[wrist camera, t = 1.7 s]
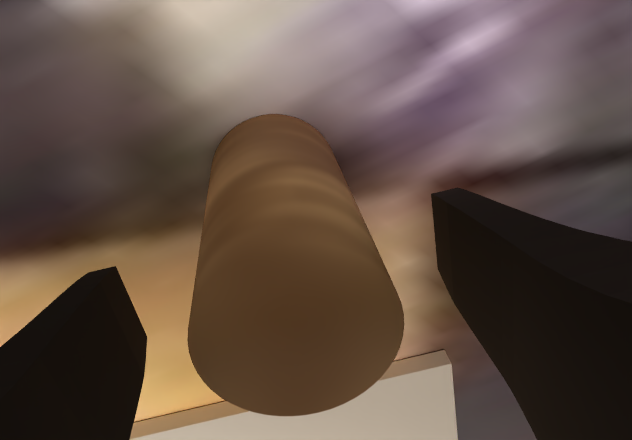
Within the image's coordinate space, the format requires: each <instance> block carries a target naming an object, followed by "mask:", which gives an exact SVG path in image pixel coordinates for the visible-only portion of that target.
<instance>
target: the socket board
mask: <svg viewBox="0 0 632 440" xmlns="http://www.w3.org/2000/svg"><path fill="white" fill-rule="evenodd" d="M130 440H458V436H457V424H456V412H455V400H454V388H453V376H452V364H451V362H450V360H449V358H448V356H447V354H446V352H445V350H441V351H437V352H433V353H429V354H424V355H420V356H416V357H412V358H407V359H403V360H399V361H395V362H392V364H391V365H390V367H389V368H388V369H387V371H386V372H385V373H384V374H383V376H382V377H381V378H380V379H379V380H378V381H377V382H376V383H375V384H374V385H373V386H371V387H370V388H369V389H368V390H366V391H365V392H364V393H362V394H360V395H359V396H357V397H356V398H354V399H352V400H350V401H348V402H347V403H345V404H343V405H340V406H337V407H335V408H332V409H330V410H326V411H323V412H319V413H314V414H309V415H302V416H272V415H264V414H259V413H255V412H251V411H248V410H245V409H242V408H240V407H238V406H235V405H233V404H231V403H229V402H228V401H224V402H220V403H216V404H212V405H207V406H203V407H199V408H195V409H190V410H186V411H182V412H178V413H173V414H169V415H165V416H161V417H156V418H152V419H148V420H144V421H139V422H135V423H133V427H132V431H131V436H130Z"/></svg>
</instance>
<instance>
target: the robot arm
mask: <svg viewBox="0 0 632 440" xmlns="http://www.w3.org/2000/svg"><path fill="white" fill-rule="evenodd" d="M431 197H432V208H433V220H434V231H435V242H436V254H437V265H438V270H439V272H440V275H441V277H442V279H443V281H444V283H445V285H446V288H447V290H448V292H449V294H450V296H451V298H452V300H453V302H454V304H455V305H456V307H457V308H458V310H459V311H460V313H461V315H462V316H463V318H464V319H465V321H466V322H467V324H468V325H469V327H470V328H471V330H472V331H473V333H474V334H475V336H476V337H477V339H478V340H479V342H480V343H481V345H482V346H483V348H484V349H485V351H486V352H487V354H488V355H489V357H490V358H491V360H492V361H493V363H494V364H495V365H496V367H497V368H498V370H499V371H500V373H501V374H502V376H503V377H504V379H505V381H506V382H507V384H508V386H509V387H510V389H511V391H512V392H513V394H514V396H515V398H516V400H517V402H518V403H519V405H520V407H521V409H522V411H523V413H524V415H525V417H526V419H527V421H528V423H529V425H530V426H531V428H532V430H533V432H534V434H535V436H536V438H537V440H632V242H630V241H625V240H620V239H616V238H611V237H607V236H603V235H598V234H594V233H590V232H586V231H582V230H578V229H575V228H571V227H568V226H565V225H561V224H558V223H555V222H552V221H548V220H545V219H542V218H539V217H537V216H534V215H531V214H528V213H525V212H522V211H520V210H517V209H514V208H512V207H509V206H506V205H504V204H501V203H499V202H496V201H494V200H491V199H488V198H486V197H483V196H481V195H478V194H475V193H473V192H470V191H467V190H464V189H460V188H455V189H450V190H446V191H442V192H437V193H433V194H431ZM146 346H147V336H146V333H145V331H144V329H143V327H142V324H141V322H140V320H139V318H138V315H137V313H136V311H135V309H134V306H133V304H132V302H131V300H130V297H129V295H128V293H127V291H126V288H125V286H124V284H123V282H122V279H121V277H120V275H119V273H118V270H117V268H116V266H115V267H110V268H106V269H102V270H97V271H93V272H89V273H87V274H86V275H84V276H83V277H81V278H80V279H79V280H77V281H76V282H75V283H74V284H73V285H71V286H70V287H69V288H68V289H67V290H65V291H64V292H63V293H62V294H61V295H60V296H59V297H58V298H56V299H55V300H54V301H53V302H52V303H51V304H50V305H49V306H47V307H46V308H45V309H44V310H43V311H42V312H41V313H40V314H38V315H37V316H36V317H35V318H34V319H33V320H32V321H31V322H29V323H28V324H27V325H26V326H25V327H24V328H23V329H21V330H20V331H19V332H18V333H17V334H15V335H14V336H13V337H12V338H11V339H9V340H8V341H7V342H6V343H5V344H3V345H2V346H1V347H0V440H130V436H131V431H132V427H133V423H134V419H135V414H136V410H137V406H138V401H139V397H140V393H141V388H142V384H143V379H144V372H145V361H146Z"/></svg>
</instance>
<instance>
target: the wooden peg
mask: <svg viewBox="0 0 632 440" xmlns="http://www.w3.org/2000/svg"><path fill="white" fill-rule="evenodd" d="M403 330H404V313H403V309H402V304H401V301H400V299H399V296H398V294H397V291H396V289H395V287H394V285H393V283H392V280H391V278H390V276H389V274H388V272H387V270H386V267H385V265H384V263H383V261H382V259H381V257H380V254H379V252H378V250H377V248H376V246H375V243H374V241H373V239H372V237H371V235H370V233H369V230H368V228H367V226H366V224H365V222H364V219H363V217H362V215H361V213H360V211H359V209H358V206H357V204H356V202H355V200H354V198H353V196H352V193H351V191H350V189H349V187H348V185H347V182H346V180H345V178H344V176H343V174H342V172H341V169H340V167H339V165H338V163H337V161H336V158H335V156H334V154H333V152H332V150H331V148H330V146H329V144H328V142H327V141H326V139H325V138H324V137H323V136H322V134H321V133H320V132H319V131H317V130H316V129H315V128H314V127H313V126H311V125H310V124H308V123H306V122H304V121H303V120H300V119H298V118H295V117H292V116H287V115H280V114H268V115H261V116H257V117H254V118H251V119H249V120H246V121H244V122H242V123H241V124H239V125H237V126H236V127H235V128H233V129H232V130H231V131H230V132H229V133H228V134H227V135H226V136H225V137H224V138H223V140H222V141H221V142H220V144H219V146H218V148H217V150H216V152H215V155H214V157H213V162H212V167H211V174H210V181H209V187H208V194H207V201H206V208H205V215H204V222H203V229H202V236H201V243H200V250H199V257H198V264H197V271H196V278H195V285H194V292H193V299H192V306H191V313H190V320H189V327H188V347H189V353H190V356H191V360H192V363H193V365H194V367H195V369H196V371H197V373H198V374H199V376H200V377H201V379H202V380H203V381H204V383H205V384H206V385H207V386H208V387H209V388H210V389H211V390H212V391H213V392H215V393H216V394H217V395H219V396H220V397H221V398H223V399H224V400H226V401H228V402H229V403H231V404H233V405H235V406H238V407H240V408H242V409H245V410H248V411H251V412H255V413H259V414H264V415H272V416H302V415H309V414H314V413H319V412H323V411H326V410H330V409H332V408H335V407H337V406H340V405H343V404H345V403H347V402H348V401H350V400H352V399H354V398H356V397H357V396H359V395H360V394H362V393H364V392H365V391H366V390H368V389H369V388H370V387H371V386H373V385H374V384H375V383H376V382H377V381H378V380H379V379H380V378H381V377H382V376H383V374H384V373H385V372H386V371H387V369H388V368H389V367H390V365H391V364H392V362H393V360H394V359H395V357H396V355H397V352H398V350H399V348H400V345H401V341H402V337H403Z"/></svg>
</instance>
